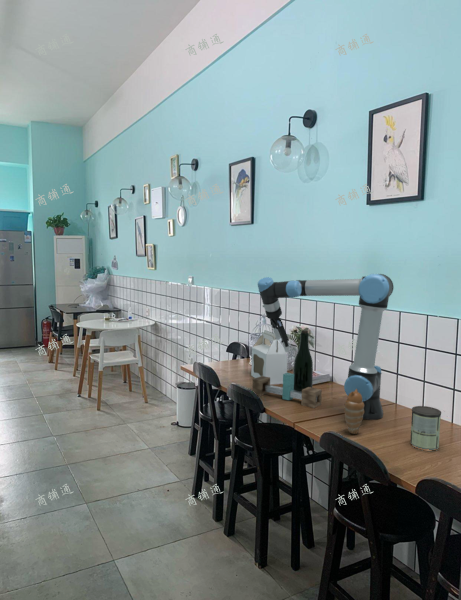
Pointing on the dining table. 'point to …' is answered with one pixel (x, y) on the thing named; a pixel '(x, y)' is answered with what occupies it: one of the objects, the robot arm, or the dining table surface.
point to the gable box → (269, 358)
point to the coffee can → (425, 427)
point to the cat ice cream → (354, 411)
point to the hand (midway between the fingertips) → (283, 344)
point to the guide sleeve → (311, 397)
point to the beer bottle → (303, 364)
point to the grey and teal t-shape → (286, 388)
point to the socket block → (260, 385)
